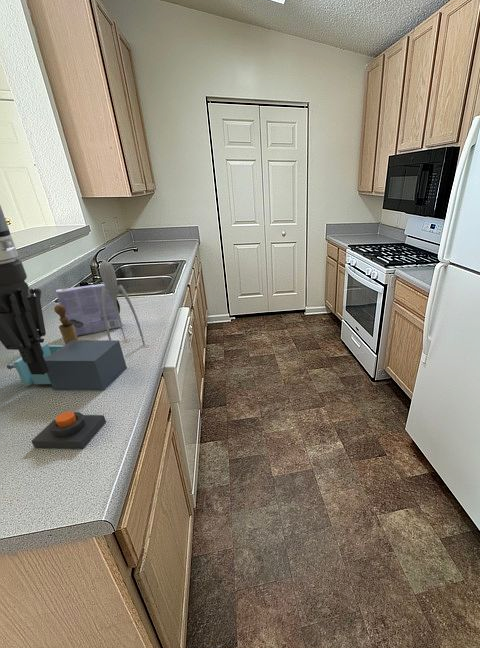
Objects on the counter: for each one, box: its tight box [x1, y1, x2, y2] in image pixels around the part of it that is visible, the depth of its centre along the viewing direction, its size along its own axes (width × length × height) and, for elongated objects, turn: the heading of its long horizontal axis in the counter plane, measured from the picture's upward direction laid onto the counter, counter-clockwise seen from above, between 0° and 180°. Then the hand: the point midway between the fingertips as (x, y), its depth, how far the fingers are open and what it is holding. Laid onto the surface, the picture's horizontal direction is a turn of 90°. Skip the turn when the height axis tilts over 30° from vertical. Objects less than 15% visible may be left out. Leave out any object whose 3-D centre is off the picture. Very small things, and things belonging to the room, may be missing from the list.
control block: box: [30, 411, 107, 450], centre depth 76 cm, size 11×9×4 cm
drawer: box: [6, 343, 65, 387], centre depth 97 cm, size 18×11×8 cm, turn 88°
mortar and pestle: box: [53, 304, 79, 345], centre depth 107 cm, size 7×6×18 cm
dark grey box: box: [44, 339, 128, 392], centre depth 96 cm, size 15×13×10 cm
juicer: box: [98, 260, 146, 346], centre depth 111 cm, size 10×9×30 cm
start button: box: [54, 411, 76, 427], centre depth 75 cm, size 4×4×2 cm
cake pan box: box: [55, 283, 123, 337], centre depth 127 cm, size 19×5×18 cm, turn 123°
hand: (40, 372), depth 70 cm, fingers closed
